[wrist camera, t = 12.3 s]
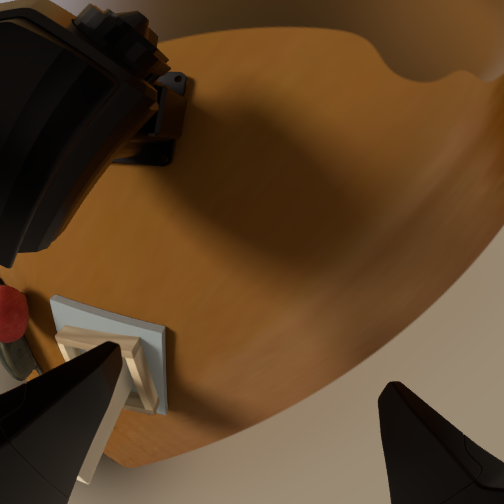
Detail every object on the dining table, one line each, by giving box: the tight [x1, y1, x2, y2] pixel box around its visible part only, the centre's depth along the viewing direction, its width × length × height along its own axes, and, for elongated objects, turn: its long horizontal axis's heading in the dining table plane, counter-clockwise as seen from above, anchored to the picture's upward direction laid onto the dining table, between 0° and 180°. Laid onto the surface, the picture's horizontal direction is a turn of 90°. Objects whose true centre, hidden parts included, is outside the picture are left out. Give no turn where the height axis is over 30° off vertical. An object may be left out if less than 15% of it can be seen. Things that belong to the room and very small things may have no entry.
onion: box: [0, 285, 29, 343], centre depth 18 cm, size 6×6×8 cm
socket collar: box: [55, 325, 160, 415], centre depth 22 cm, size 9×9×2 cm
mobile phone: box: [0, 280, 43, 381], centre depth 21 cm, size 5×3×15 cm
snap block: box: [77, 350, 134, 485], centre depth 17 cm, size 4×4×12 cm
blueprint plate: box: [50, 294, 168, 415], centre depth 23 cm, size 12×12×1 cm
